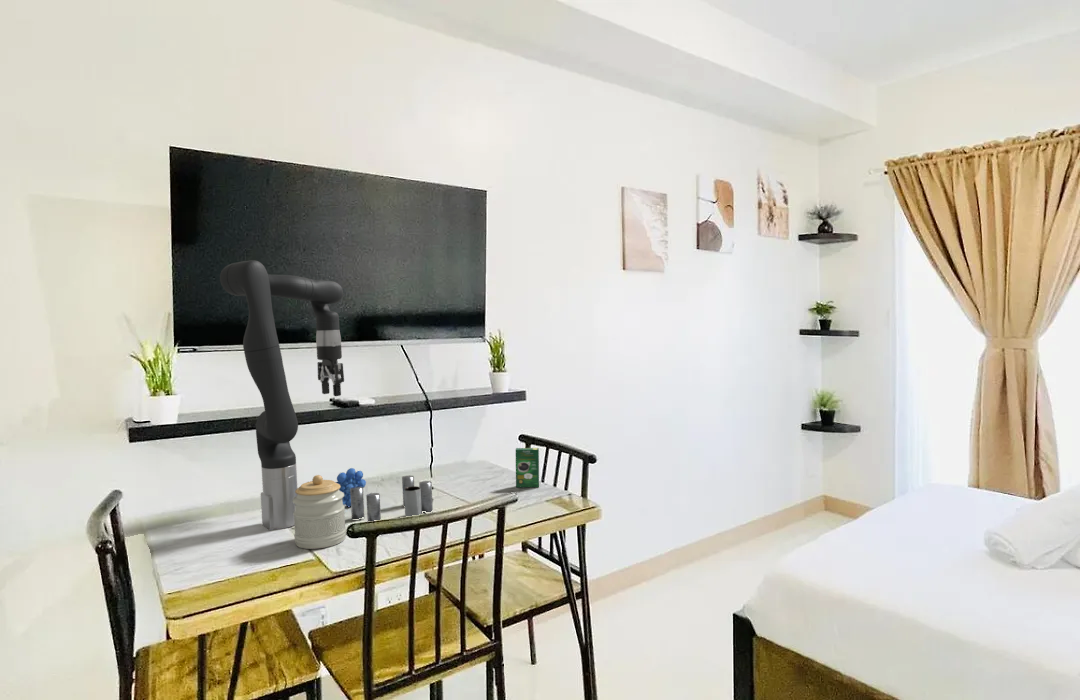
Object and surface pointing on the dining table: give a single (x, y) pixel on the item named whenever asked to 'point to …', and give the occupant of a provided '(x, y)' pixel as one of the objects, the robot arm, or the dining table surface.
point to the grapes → (350, 483)
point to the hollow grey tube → (412, 501)
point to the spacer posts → (374, 499)
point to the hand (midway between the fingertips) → (331, 394)
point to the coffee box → (527, 467)
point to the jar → (319, 514)
